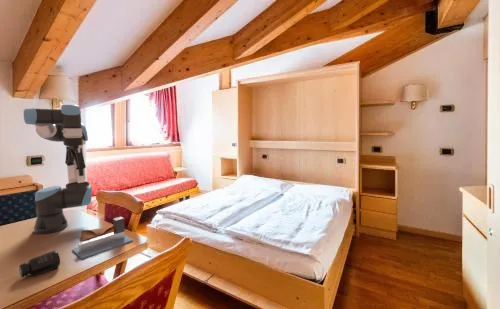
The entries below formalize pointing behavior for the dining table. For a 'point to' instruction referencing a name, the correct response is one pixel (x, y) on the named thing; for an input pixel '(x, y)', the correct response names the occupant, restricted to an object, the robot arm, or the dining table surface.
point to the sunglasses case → (95, 233)
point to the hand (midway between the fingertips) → (76, 180)
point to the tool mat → (102, 248)
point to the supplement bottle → (40, 264)
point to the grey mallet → (105, 237)
